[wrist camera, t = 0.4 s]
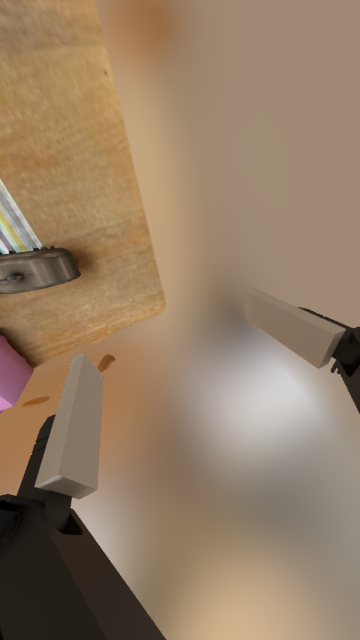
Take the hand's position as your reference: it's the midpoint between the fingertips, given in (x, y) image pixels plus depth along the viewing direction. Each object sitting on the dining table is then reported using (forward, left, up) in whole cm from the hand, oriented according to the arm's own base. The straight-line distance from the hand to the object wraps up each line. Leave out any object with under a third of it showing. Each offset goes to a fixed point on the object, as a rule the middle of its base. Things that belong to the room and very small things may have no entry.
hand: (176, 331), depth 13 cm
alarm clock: (-5, -15, -28) cm, 32 cm away
